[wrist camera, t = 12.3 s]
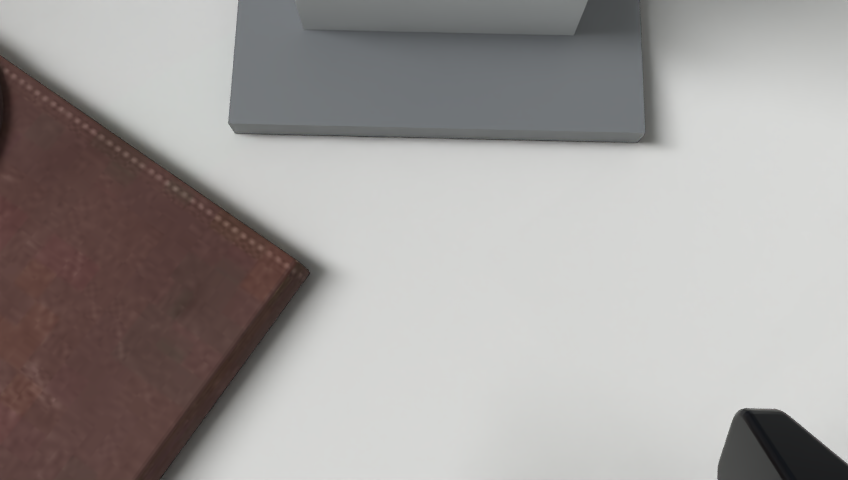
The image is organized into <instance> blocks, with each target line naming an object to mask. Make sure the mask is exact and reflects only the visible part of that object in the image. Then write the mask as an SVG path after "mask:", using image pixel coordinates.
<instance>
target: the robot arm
mask: <svg viewBox="0 0 848 480" xmlns="http://www.w3.org/2000/svg"><path fill="white" fill-rule="evenodd" d="M717 478H718V480H848V464H847V463H846V462H845V461H843V460H842V459H841V458H840V457H839V456H837V455H836V454H835V453H834V452H833V451H831V450H830V449H829V448H828V447H826V446H825V445H824V444H823V443H822V442H820V441H819V440H818V439H817V438H816V437H814V436H813V435H812V434H811V433H809V432H808V431H807V430H806V429H805V428H803V427H802V426H801V425H800V424H799V423H797V422H796V421H795V420H794V419H792V418H791V417H790V416H789V415H787V414H786V413H784V412H783V411H781V410H777V409H755V408H744V409H741V410H739V411H738V412H737V413H736V414H735V416H734V418H733V420H732V423H731V426H730V429H729V432H728V435H727V438H726V442H725V445H724V448H723V451H722V454H721V457H720V460H719V464H718V476H717Z"/></svg>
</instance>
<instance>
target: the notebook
mask: <svg viewBox="0 0 848 480" xmlns="http://www.w3.org/2000/svg"><path fill="white" fill-rule="evenodd" d="M309 273H310V272H309V270H308V269H307V268H306V267H305V266H303V265H302V264H301V263H300V262H298V261H297V260H296V259H295V258H293V257H292V256H290V255H289V254H287V253H286V252H284V251H283V250H282V249H280V248H279V247H277V246H276V245H274V244H273V243H271V242H270V241H268V240H267V239H266V238H264V237H263V236H261V235H260V234H258V233H257V232H255V231H254V230H253V229H251V228H250V227H248V226H247V225H245V224H244V223H242V222H241V221H240V220H238V219H237V218H235V217H234V216H232V215H231V214H229V213H228V212H226V211H225V210H224V209H222V208H221V207H219V206H218V205H216V204H215V203H213V202H212V201H211V200H209V199H208V198H206V197H205V196H203V195H202V194H200V193H199V192H198V191H196V190H195V189H193V188H192V187H190V186H189V185H187V184H186V183H185V182H183V181H182V180H180V179H179V178H177V177H176V176H174V175H173V174H171V173H170V172H169V171H167V170H166V169H164V168H163V167H161V166H160V165H158V164H157V163H156V162H154V161H153V160H151V159H150V158H148V157H147V156H145V155H144V154H143V153H141V152H140V151H138V150H137V149H135V148H134V147H132V146H131V145H129V144H128V143H127V142H125V141H124V140H122V139H121V138H119V137H118V136H116V135H115V134H114V133H112V132H111V131H109V130H108V129H106V128H105V127H103V126H102V125H101V124H99V123H98V122H96V121H95V120H93V119H92V118H90V117H89V116H88V115H86V114H85V113H83V112H82V111H80V110H79V109H77V108H76V107H74V106H73V105H72V104H70V103H69V102H67V101H66V100H64V99H63V98H61V97H60V96H59V95H57V94H56V93H54V92H53V91H51V90H50V89H48V88H47V87H46V86H44V85H43V84H41V83H40V82H38V81H37V80H35V79H34V78H32V77H31V76H30V75H28V74H27V73H25V72H24V71H22V70H21V69H19V68H18V67H17V66H15V65H14V64H12V63H11V62H9V61H8V60H6V59H5V58H4V57H2V56H1V55H0V480H159V479H160V478H161V477H162V475H163V474H164V473H165V471H166V470H167V468H168V467H169V466H170V464H171V463H172V462H173V460H174V459H175V457H176V456H177V455H178V453H179V452H180V451H181V449H182V448H183V446H184V445H185V444H186V442H187V441H188V440H189V438H190V437H191V436H192V434H193V433H194V431H195V430H196V429H197V427H198V426H199V425H200V423H201V422H202V420H203V419H204V418H205V416H206V415H207V414H208V412H209V411H210V409H211V408H212V407H213V405H214V404H215V403H216V401H217V400H218V398H219V397H220V396H221V394H222V393H223V392H224V390H225V389H226V387H227V386H228V385H229V383H230V382H231V381H232V379H233V378H234V377H235V375H236V374H237V372H238V371H239V370H240V368H241V367H242V366H243V364H244V363H245V361H246V360H247V359H248V357H249V356H250V355H251V353H252V352H253V350H254V349H255V348H256V346H257V345H258V344H259V342H260V341H261V339H262V338H263V337H264V335H265V334H266V333H267V331H268V330H269V328H270V327H271V326H272V324H273V323H274V322H275V320H276V319H277V317H278V316H279V315H280V313H281V312H282V311H283V309H284V308H285V307H286V305H287V304H288V302H289V301H290V300H291V298H292V297H293V296H294V294H295V293H296V291H297V290H298V289H299V287H300V286H301V285H302V283H303V282H304V280H305V279H306V278H307V276H308V275H309Z"/></svg>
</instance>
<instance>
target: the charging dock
mask: <svg viewBox="0 0 848 480" xmlns="http://www.w3.org/2000/svg"><path fill="white" fill-rule="evenodd" d="M228 124H229V125H230V127H231V128H232V130H233V131H234V133H249V134H293V135H337V136H380V137H424V138H468V139H512V140H556V141H600V142H638V141H639V140H640V139H641V138H642V136H643V135H644V134H645V115H644V91H643V67H642V43H641V18H640V0H238V12H237V24H236V36H235V48H234V61H233V73H232V85H231V97H230V109H229V121H228Z"/></svg>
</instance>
